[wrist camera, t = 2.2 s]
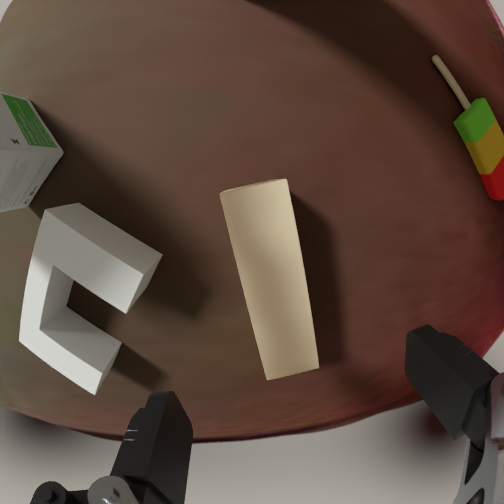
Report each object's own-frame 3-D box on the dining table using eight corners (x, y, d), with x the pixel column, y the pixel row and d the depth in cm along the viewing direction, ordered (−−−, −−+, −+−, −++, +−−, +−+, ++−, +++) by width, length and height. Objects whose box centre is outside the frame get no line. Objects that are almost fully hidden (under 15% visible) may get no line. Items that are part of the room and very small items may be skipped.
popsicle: (489, 204, 20) (501, 206, 19) (413, 69, 17) (425, 63, 15) (509, 174, 20) (520, 175, 18) (441, 49, 17) (451, 44, 15)
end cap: (78, 202, 18) (44, 209, 14) (163, 254, 20) (143, 274, 15) (45, 318, 21) (19, 340, 16) (112, 364, 22) (94, 395, 18)
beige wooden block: (274, 179, 19) (286, 178, 14) (303, 331, 22) (319, 367, 17) (224, 190, 19) (219, 193, 14) (261, 341, 22) (267, 380, 17)
